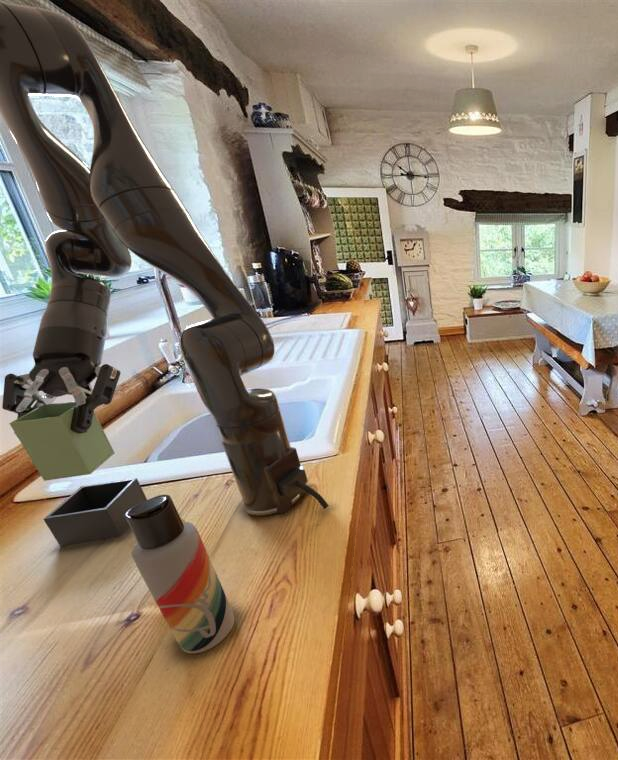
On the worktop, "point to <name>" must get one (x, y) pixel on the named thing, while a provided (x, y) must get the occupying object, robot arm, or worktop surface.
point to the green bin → (61, 442)
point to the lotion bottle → (179, 575)
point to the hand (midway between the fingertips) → (52, 434)
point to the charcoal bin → (95, 512)
